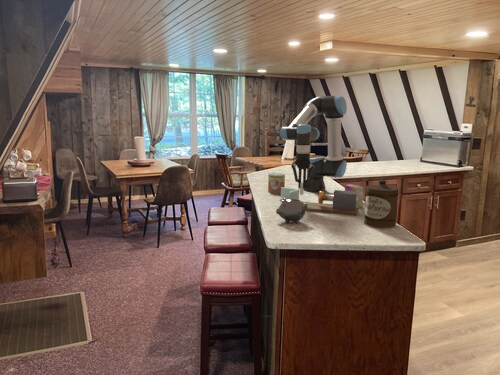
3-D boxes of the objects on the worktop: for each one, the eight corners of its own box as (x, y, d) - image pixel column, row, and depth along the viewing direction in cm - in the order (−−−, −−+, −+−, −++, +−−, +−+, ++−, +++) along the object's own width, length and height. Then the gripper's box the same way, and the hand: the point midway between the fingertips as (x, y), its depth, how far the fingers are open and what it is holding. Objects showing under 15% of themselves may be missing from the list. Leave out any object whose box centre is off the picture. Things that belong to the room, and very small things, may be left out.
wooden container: (357, 223, 188) (360, 179, 184) (372, 218, 198) (376, 176, 194) (386, 230, 177) (390, 183, 173) (401, 224, 188) (405, 179, 184)
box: (343, 204, 230) (344, 184, 227) (351, 203, 232) (353, 184, 229) (354, 208, 220) (355, 187, 218) (362, 207, 222) (364, 187, 220)
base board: (294, 203, 229) (294, 201, 228) (357, 208, 218) (358, 206, 218) (289, 209, 214) (289, 207, 213) (356, 215, 203) (357, 212, 203)
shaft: (319, 201, 220) (320, 189, 218) (358, 204, 213) (358, 192, 212) (318, 204, 213) (318, 192, 212) (357, 207, 207) (358, 194, 206)
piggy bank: (276, 218, 195) (277, 196, 193) (306, 220, 193) (307, 197, 191) (275, 224, 184) (275, 200, 182) (306, 226, 182) (308, 202, 180)
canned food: (266, 192, 260) (266, 175, 258) (269, 189, 271) (270, 172, 269) (283, 193, 258) (283, 175, 255) (285, 190, 268) (286, 173, 266)
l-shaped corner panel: (281, 198, 244) (281, 187, 242) (298, 201, 238) (299, 189, 236) (272, 202, 234) (272, 190, 232) (290, 204, 228) (290, 192, 226)
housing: (333, 205, 218) (334, 190, 217) (355, 207, 215) (357, 191, 213) (332, 209, 210) (333, 192, 209) (355, 210, 207) (356, 194, 205)
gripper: (290, 152, 212) (289, 194, 217) (314, 153, 209) (312, 196, 213) (292, 151, 219) (291, 192, 224) (315, 152, 216) (314, 193, 220)
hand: (301, 194), depth 219 cm, fingers closed
